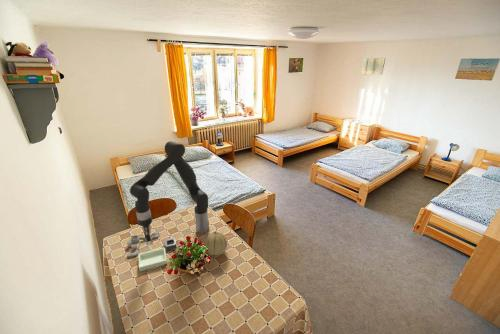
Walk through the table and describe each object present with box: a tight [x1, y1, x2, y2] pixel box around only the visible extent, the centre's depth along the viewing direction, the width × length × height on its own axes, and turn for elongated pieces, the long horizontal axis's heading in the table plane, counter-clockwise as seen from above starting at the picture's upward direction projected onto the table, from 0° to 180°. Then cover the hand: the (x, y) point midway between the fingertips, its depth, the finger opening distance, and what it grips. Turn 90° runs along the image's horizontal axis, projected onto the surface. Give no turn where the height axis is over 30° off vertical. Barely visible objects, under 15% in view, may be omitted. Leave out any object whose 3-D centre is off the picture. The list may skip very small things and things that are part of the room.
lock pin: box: [143, 228, 153, 247], centre depth 147 cm, size 4×4×11 cm
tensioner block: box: [164, 237, 178, 251], centre depth 167 cm, size 7×7×3 cm
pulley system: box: [126, 230, 160, 258], centre depth 169 cm, size 27×5×15 cm
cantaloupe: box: [204, 231, 228, 256], centre depth 160 cm, size 15×15×15 cm
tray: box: [138, 246, 168, 272], centre depth 155 cm, size 16×12×3 cm
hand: (148, 238), depth 148 cm, fingers closed on lock pin, 3 cm apart
